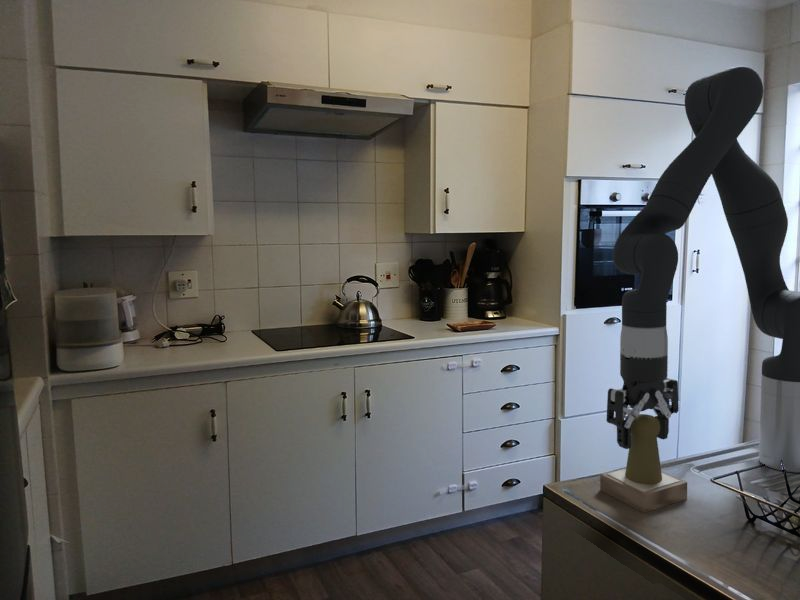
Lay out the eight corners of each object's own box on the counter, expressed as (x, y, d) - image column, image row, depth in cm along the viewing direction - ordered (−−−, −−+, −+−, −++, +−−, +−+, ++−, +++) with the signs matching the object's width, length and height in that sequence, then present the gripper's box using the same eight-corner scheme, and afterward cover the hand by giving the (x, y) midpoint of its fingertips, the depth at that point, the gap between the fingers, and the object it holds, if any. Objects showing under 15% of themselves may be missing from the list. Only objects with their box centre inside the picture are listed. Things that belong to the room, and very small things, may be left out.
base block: (641, 477, 114) (641, 461, 114) (686, 498, 105) (687, 481, 105) (600, 489, 110) (600, 473, 110) (643, 512, 101) (643, 494, 101)
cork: (656, 487, 103) (657, 423, 102) (620, 479, 107) (620, 418, 105) (666, 474, 108) (667, 414, 106) (631, 467, 111) (631, 408, 110)
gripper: (656, 342, 111) (655, 429, 113) (595, 352, 105) (595, 443, 107) (692, 349, 104) (690, 441, 106) (628, 360, 98) (628, 458, 100)
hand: (643, 442), depth 106 cm, fingers open, 8 cm apart
